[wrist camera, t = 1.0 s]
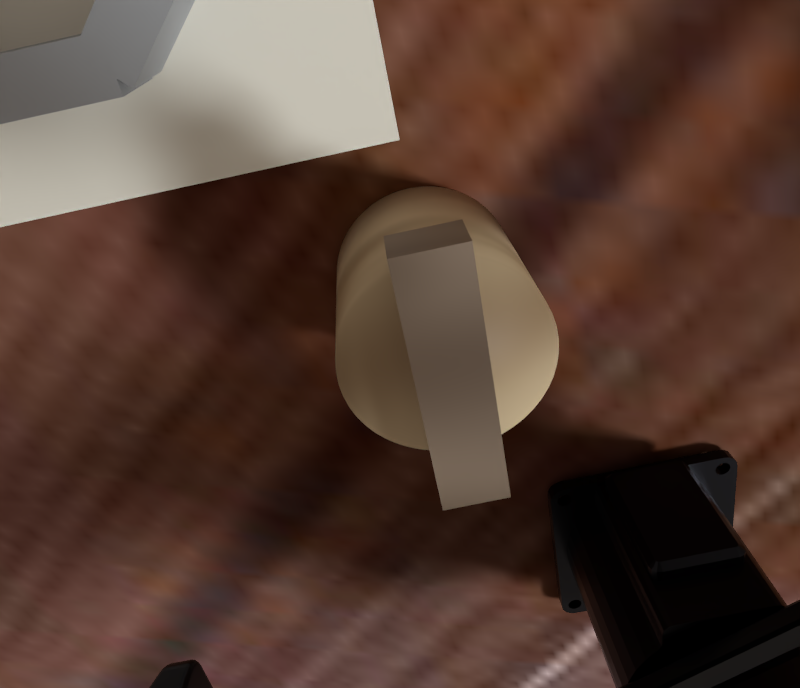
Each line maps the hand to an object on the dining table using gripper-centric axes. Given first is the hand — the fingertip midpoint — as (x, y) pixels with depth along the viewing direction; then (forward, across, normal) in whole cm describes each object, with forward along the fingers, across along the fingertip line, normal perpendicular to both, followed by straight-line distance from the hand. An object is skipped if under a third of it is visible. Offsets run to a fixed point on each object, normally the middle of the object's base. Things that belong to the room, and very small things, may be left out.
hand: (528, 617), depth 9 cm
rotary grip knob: (+12, 0, 0) cm, 12 cm away
